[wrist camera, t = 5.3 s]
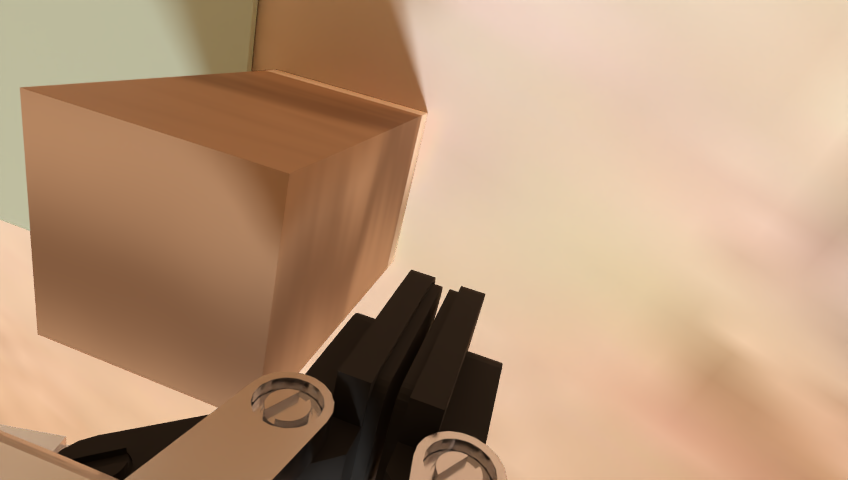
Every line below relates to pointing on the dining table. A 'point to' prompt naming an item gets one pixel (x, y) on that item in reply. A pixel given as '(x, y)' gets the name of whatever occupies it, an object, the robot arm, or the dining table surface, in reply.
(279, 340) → the walnut block
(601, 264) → the dining table surface
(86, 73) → the sage mat
